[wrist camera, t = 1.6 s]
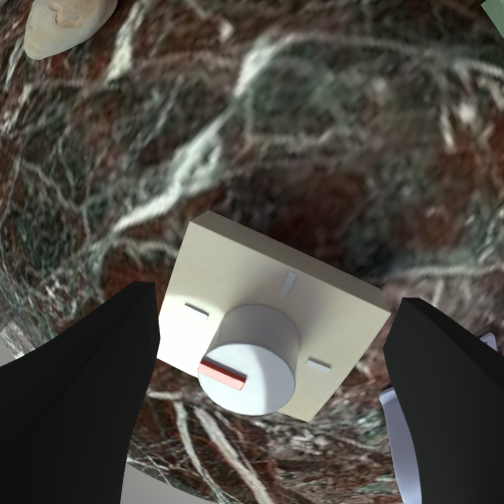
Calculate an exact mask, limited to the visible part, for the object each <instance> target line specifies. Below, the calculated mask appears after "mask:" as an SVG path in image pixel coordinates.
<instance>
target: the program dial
mask: <svg viewBox="0 0 504 504" xmlns="http://www.w3.org/2000/svg"><path fill="white" fill-rule="evenodd" d="M299 343H300V340H299V335H298V332H297V329H296V327H295V326H294V324H293V323H292V322H291V320H290V319H289V318H288V317H287V316H285V315H284V314H283V313H281V312H280V311H278V310H276V309H274V308H271V307H268V306H264V305H245V306H241V307H238V308H236V309H234V310H232V311H230V312H229V313H228V314H227V315H226V316H224V318H223V319H222V320H221V322H220V324H219V326H218V328H217V330H216V332H215V333H214V335H213V337H212V339H211V341H210V343H209V345H208V347H207V349H206V351H205V352H204V354H203V356H202V358H201V360H200V362H199V365H198V368H197V371H198V378H199V382H200V385H201V387H202V389H203V390H204V392H205V393H206V394H207V395H208V397H209V398H210V399H212V400H213V401H214V402H215V403H217V404H218V405H219V406H221V407H223V408H225V409H227V410H229V411H232V412H235V413H239V414H244V415H264V414H269V413H272V412H275V411H277V410H279V409H280V408H282V407H283V406H285V405H286V404H287V403H288V402H289V401H290V399H291V398H292V396H293V394H294V392H295V388H296V379H297V368H298V357H299Z"/></svg>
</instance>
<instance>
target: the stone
mask: <svg viewBox="0 0 504 504" xmlns="http://www.w3.org/2000/svg"><path fill="white" fill-rule="evenodd" d="M116 6H117V0H36V1H35V3H34V6H33V7H32V10H31V12H30V14H29V17H28V20H27V24H26V33H25V39H24V49H25V51H26V53H27V55H28V56H29V57H30V58H32V59H35V60H41V59H44V58H46V57H48V56H52V55H56V54H58V53H61V52H64V51H66V50H68V49H70V48H72V47H74V46H76V45H77V44H80V43H82V42H85V41H86V40H87V39H89V38H90V37H91V36H92V35H93V34H94V33H95V32H97V31H98V30H99V29H100V28H101V27H102V25H103V24H104V23H105V22H106V21H107V20H108V19H109V17H110V16H111V15H112V13H113V12H114V10H115V8H116Z"/></svg>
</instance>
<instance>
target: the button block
mask: <svg viewBox="0 0 504 504" xmlns="http://www.w3.org/2000/svg"><path fill="white" fill-rule="evenodd" d="M481 6H482V8H483V9H484V10H485V12H486V13H487V15H488V16H489V17H490V19H491V20H492V22H493V23H494V25H495V26H496V28H497V29H498V31H499V32H500V34H501V36H502V37H503V39H504V0H486V1H485V2H483V3H482V4H481Z"/></svg>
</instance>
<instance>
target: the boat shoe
mask: <svg viewBox="0 0 504 504" xmlns="http://www.w3.org/2000/svg"><path fill="white" fill-rule="evenodd" d="M7 1H8V0H0V9H1V8H2V6H3V5H4V4H5V3H6V2H7Z"/></svg>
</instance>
